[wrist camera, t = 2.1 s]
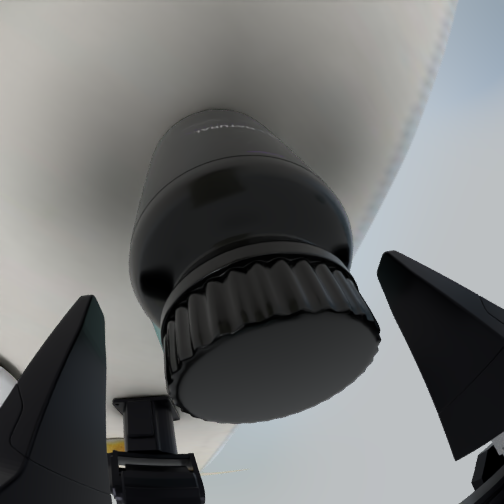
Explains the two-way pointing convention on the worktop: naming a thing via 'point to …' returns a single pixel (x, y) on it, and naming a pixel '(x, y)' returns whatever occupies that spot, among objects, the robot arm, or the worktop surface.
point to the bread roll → (115, 445)
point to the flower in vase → (5, 384)
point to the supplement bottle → (247, 274)
